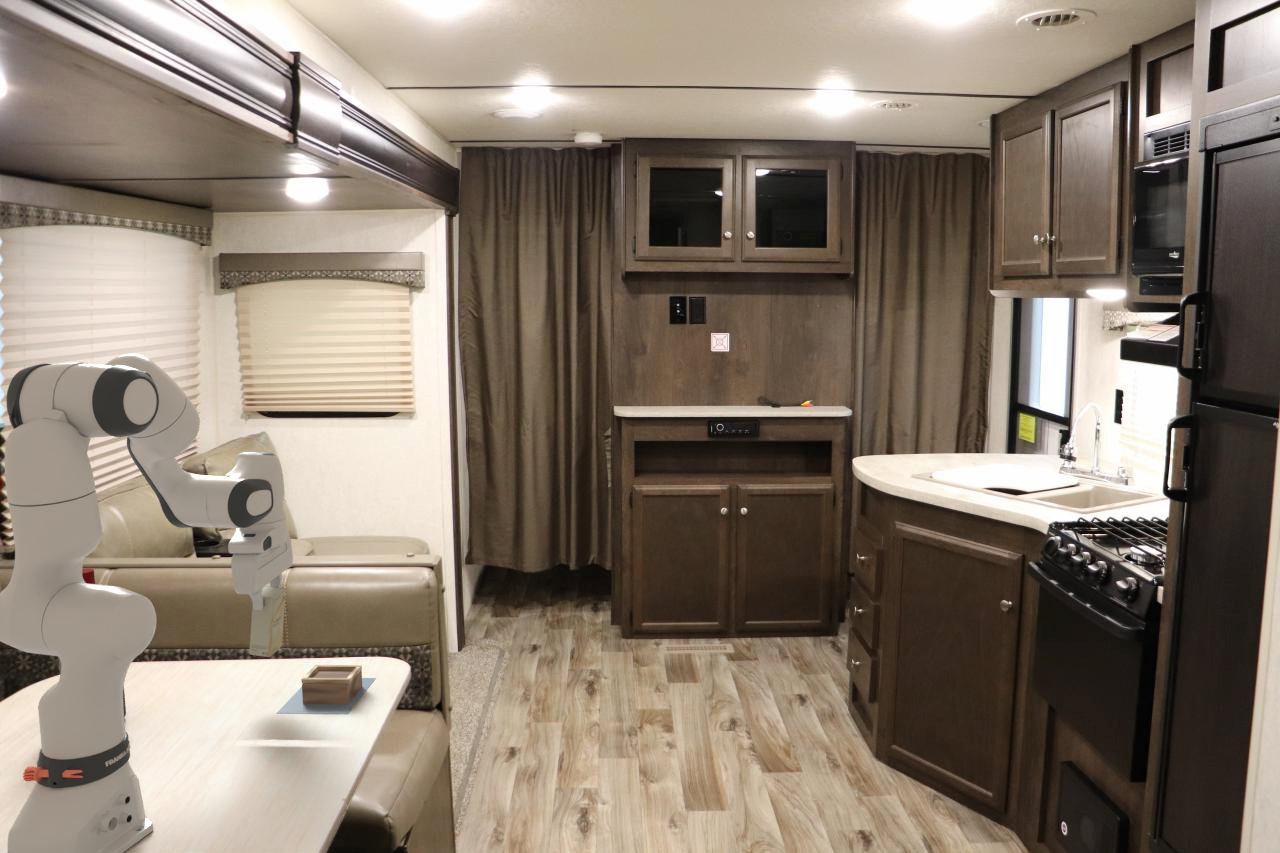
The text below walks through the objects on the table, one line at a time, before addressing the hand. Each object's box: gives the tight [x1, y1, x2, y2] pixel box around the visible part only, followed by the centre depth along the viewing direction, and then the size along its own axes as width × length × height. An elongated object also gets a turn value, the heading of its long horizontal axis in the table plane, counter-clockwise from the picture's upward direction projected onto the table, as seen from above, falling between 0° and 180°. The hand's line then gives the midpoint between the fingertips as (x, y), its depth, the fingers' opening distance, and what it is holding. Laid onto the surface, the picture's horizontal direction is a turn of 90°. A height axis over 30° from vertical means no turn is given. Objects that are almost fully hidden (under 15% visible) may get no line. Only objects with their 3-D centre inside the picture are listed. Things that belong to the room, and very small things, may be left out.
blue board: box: [276, 677, 377, 715], centre depth 202 cm, size 18×14×1 cm
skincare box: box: [248, 585, 287, 658], centre depth 196 cm, size 6×4×12 cm
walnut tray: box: [301, 664, 363, 704], centre depth 201 cm, size 9×10×5 cm
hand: (267, 602), depth 195 cm, fingers closed on skincare box, 6 cm apart
